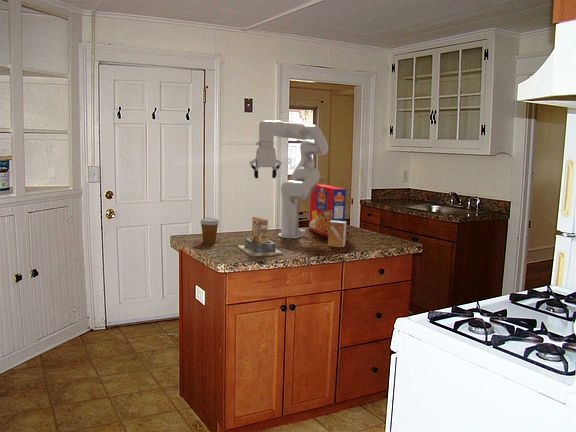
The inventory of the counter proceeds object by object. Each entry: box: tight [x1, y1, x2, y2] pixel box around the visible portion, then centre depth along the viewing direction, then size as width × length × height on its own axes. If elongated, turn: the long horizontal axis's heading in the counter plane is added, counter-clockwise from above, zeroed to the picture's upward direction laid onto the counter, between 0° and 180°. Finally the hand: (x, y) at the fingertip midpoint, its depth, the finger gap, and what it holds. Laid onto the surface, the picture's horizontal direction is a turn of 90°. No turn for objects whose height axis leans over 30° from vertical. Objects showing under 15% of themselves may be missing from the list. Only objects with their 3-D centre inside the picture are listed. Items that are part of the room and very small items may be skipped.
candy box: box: [251, 216, 269, 244], centre depth 268 cm, size 9×4×15 cm, turn 33°
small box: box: [327, 220, 348, 248], centre depth 288 cm, size 8×6×13 cm
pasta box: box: [308, 183, 347, 238], centre depth 322 cm, size 28×8×28 cm, turn 24°
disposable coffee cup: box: [200, 217, 220, 245], centre depth 284 cm, size 10×10×12 cm
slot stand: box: [237, 237, 283, 257], centre depth 269 cm, size 16×20×5 cm
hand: (265, 178), depth 286 cm, fingers open, 9 cm apart
